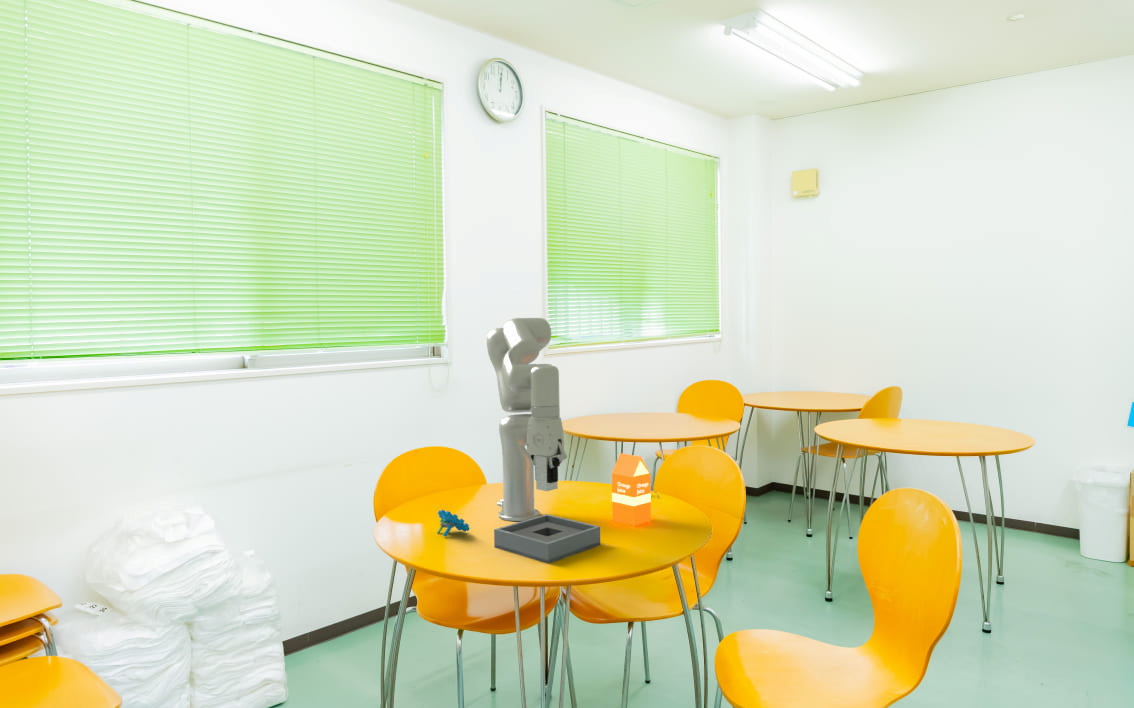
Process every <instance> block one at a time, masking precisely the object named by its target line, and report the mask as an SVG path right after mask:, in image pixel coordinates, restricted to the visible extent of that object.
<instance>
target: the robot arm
mask: <svg viewBox="0 0 1134 708" xmlns="http://www.w3.org/2000/svg"><path fill="white" fill-rule="evenodd" d="M551 339H552V328H551V326H550V323H549V322H548V320H546V319H545V318H542V317H515V318H512V319H509V320H507V321H506V322H505V324H504V326H503V327H497V328H495V329H494V328H493V329H492V330H490V331H489V332H488V334H487V336H486V349H487V354H488V358H489V360H490V362H491V364H492V366H493V369H494V371H495V373H496V380H497V381H496V382H497V387H498V394H499V395H498V397H499V402H500V406H501V409H502V410H503V411H505V412H506V413H510V415H506V416H505V417H503V418H501V420H500V421H499V425H498V431H499V433H498V434H499V437H500V444H501V451H502V452H501V453H502V483H503V485H502V486H503V487H502V488H503V489H502V490H503V491H502V492H503V498H501V499H500V500H499V501H497V502H496V505H497V507H501V510H500V511H499V512H498V517H499V519H501V520H504V521H510V522H521V521H525V520H528V519H532V518H535V517H539V516H540V511H539V509H536V508H535V480H536V455H538V456H545V457H548V460H549V466H550V468H548V483H554V482H557V483H558V481H559V467H560V466H561V463H562V462H563V461H565V459H567V458H568V455H567V453H566V450H565V438H564V437H565V436H564V427H563V421H562V418H561V417H560V415H561V413H560V373H559V372H560V371H559V369H558V367H557V366H554V365H552V364H549V363H532V362H534V361H535V360H537V358H538V356H539V355H540V353H541V351H542V350H543V349H544V348H546V347H547V345H549V343H550V341H551ZM511 413H514V414H511ZM515 413H516V414H515ZM517 413H518V414H517ZM521 413H522V414H521ZM553 458H554V461H553ZM534 468H535V469H534ZM534 470H535V471H534ZM534 472H535V473H534Z"/></svg>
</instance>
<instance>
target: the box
mask: <svg viewBox="0 0 1134 708" xmlns="http://www.w3.org/2000/svg"><path fill="white" fill-rule="evenodd" d="M493 532H494V533H493V535H494V536H493V541H494V545H493V546H494V548H495V549H497V550H502V551H505V552H508V553H512V554H515V555H518V556H521V557H525V558H528V559H530V560H531V559H532V560H534V561H538V562H540V563H545V564H548V565H549V564H551V563H554V562H557V561H559V560H563V559H566V558H568V557H570V556H571V557H572V556H574V555H576V554H580V553H582V552H586V551H588V550H591V549H593V548H596V547H599V546H601V526H598V525H595V524H591V523H586V522H583V521H578V520H573V519H570V518H564V517H562V516H561V517H560V516H556V515H551V514H548V513H546V514H542V515H539V516H538V517H535V518H532V519H528V520H525V521H517V522H515V523H511V524H509V525H508V524H507V525H505V526H502V527H501V526H500V527H499V528H495V529H493Z"/></svg>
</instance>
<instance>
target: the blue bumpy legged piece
mask: <svg viewBox="0 0 1134 708" xmlns="http://www.w3.org/2000/svg"><path fill="white" fill-rule="evenodd" d="M437 514H438V518H439V519H440V520H439V523H440V524H439V525H440V527H439V528H438V530H437V532H436V533H437V534H439V535H440V533H441V532H442V531H443V529H444V528H445V531H444V533H443V534H442V536H444V537H446V538H447V536H448V535H449V533H450V532H451V530H452V529H453V528H456V530H458V531H463V532H464V533H466V532H468V531H470V529H471V528H470V525H469V524H468V523H466V522H465V520H464V519H463V518H459V515H458V514H455V513H454V514H452V513H451V512H450V511H449V510H446V511H445V510H444V509H441V510H438V512H437Z"/></svg>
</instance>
